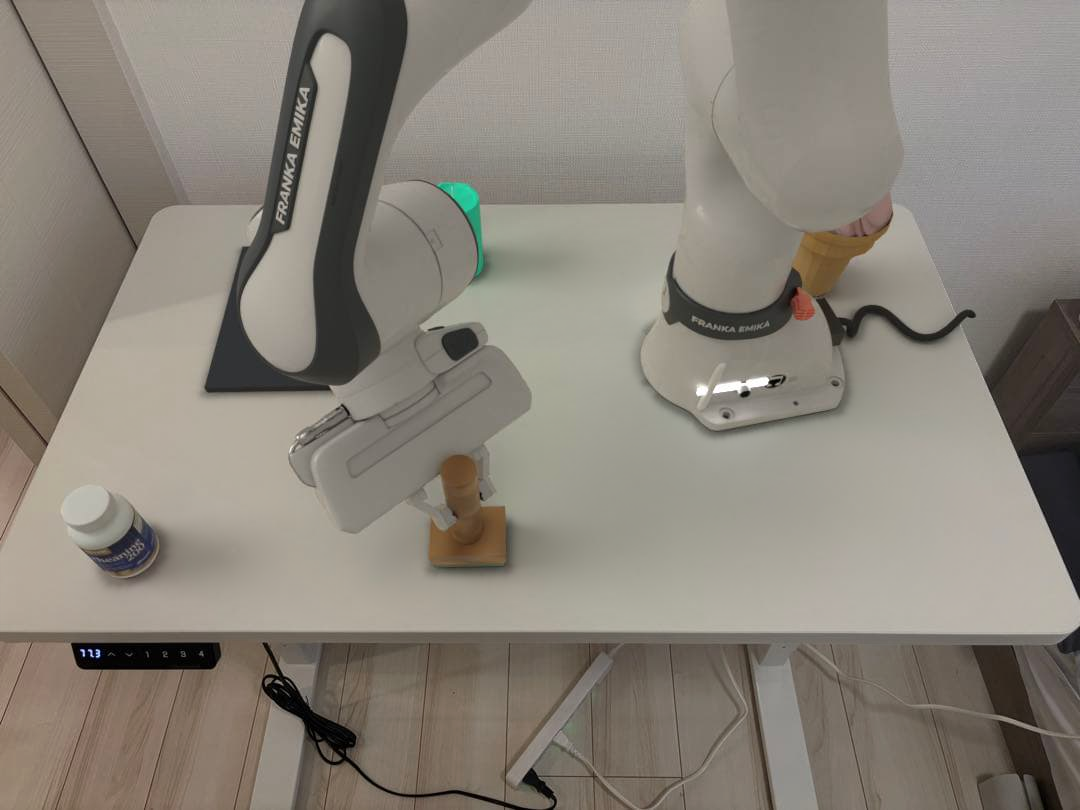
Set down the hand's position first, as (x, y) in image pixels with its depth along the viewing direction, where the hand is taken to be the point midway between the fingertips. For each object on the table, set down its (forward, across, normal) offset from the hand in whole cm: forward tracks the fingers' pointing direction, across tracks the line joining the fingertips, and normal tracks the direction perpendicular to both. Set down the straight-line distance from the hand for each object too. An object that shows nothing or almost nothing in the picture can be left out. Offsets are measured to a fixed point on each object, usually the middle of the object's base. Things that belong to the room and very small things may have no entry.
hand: (468, 510), depth 69 cm
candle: (-16, +23, +28) cm, 39 cm away
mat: (-21, +3, +32) cm, 38 cm away
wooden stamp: (+5, 0, +6) cm, 8 cm away
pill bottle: (-9, -25, +21) cm, 33 cm away
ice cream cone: (+6, +53, +6) cm, 54 cm away
